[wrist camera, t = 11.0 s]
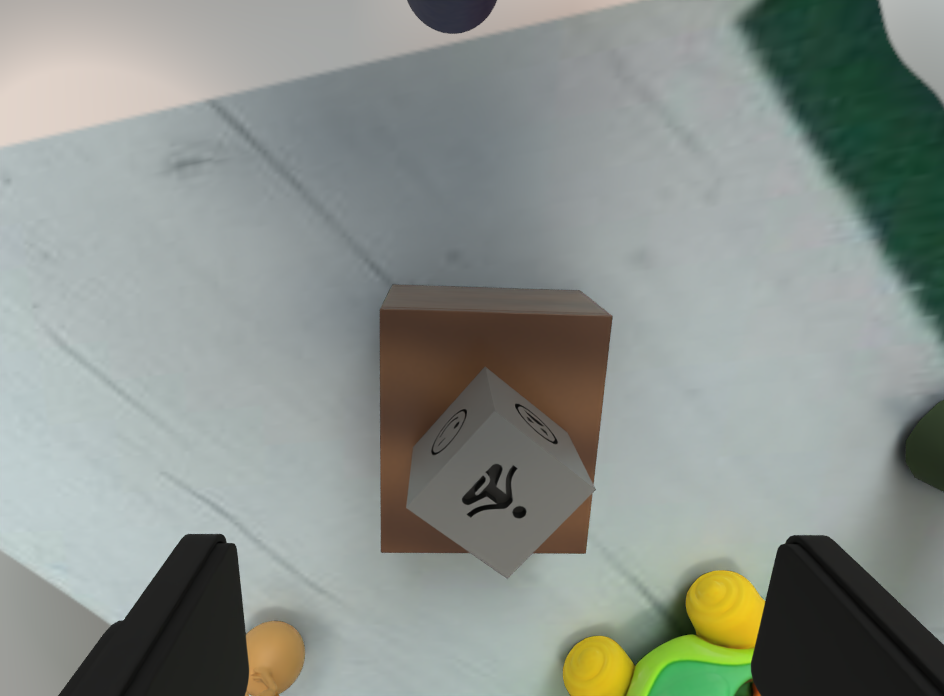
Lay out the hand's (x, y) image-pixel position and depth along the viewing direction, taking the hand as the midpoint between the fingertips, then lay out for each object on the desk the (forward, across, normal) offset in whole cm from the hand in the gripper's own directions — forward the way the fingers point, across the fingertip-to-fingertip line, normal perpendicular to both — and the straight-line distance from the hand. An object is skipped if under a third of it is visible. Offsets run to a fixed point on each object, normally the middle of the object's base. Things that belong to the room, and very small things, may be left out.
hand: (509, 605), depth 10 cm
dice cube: (+16, -1, +5) cm, 16 cm away
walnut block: (+21, -1, +5) cm, 22 cm away
